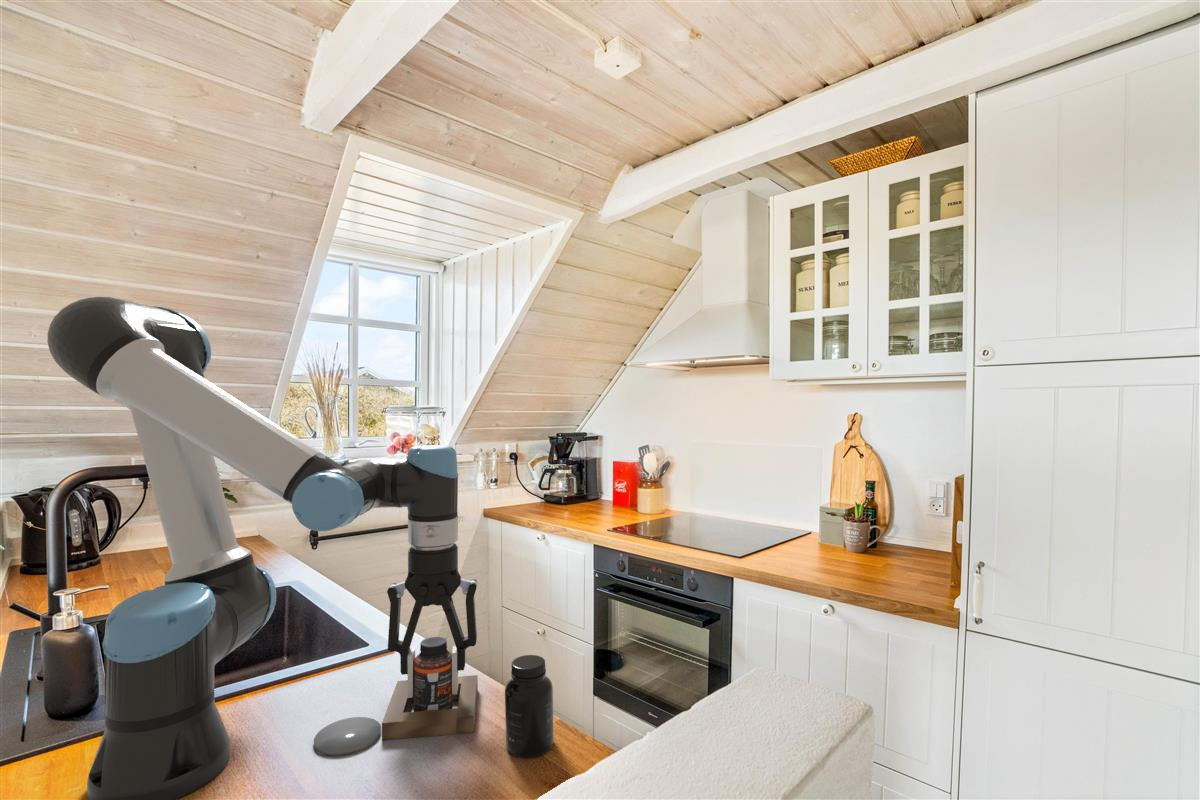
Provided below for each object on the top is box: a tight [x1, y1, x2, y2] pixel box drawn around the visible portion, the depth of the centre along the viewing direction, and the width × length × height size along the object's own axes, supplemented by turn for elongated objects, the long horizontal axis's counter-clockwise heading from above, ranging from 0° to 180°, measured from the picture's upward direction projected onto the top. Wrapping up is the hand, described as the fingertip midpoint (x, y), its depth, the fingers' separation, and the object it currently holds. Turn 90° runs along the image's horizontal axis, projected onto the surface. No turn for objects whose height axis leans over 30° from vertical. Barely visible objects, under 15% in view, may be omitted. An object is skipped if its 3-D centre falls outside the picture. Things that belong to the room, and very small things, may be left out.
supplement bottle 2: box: [504, 654, 555, 759], centre depth 86 cm, size 7×7×12 cm
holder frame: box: [381, 674, 479, 741], centre depth 94 cm, size 13×13×2 cm
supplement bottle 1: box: [413, 636, 454, 712], centre depth 94 cm, size 6×6×11 cm
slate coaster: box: [313, 716, 382, 757], centre depth 88 cm, size 9×9×1 cm
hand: (433, 691), depth 94 cm, fingers closed on supplement bottle 1, 6 cm apart
